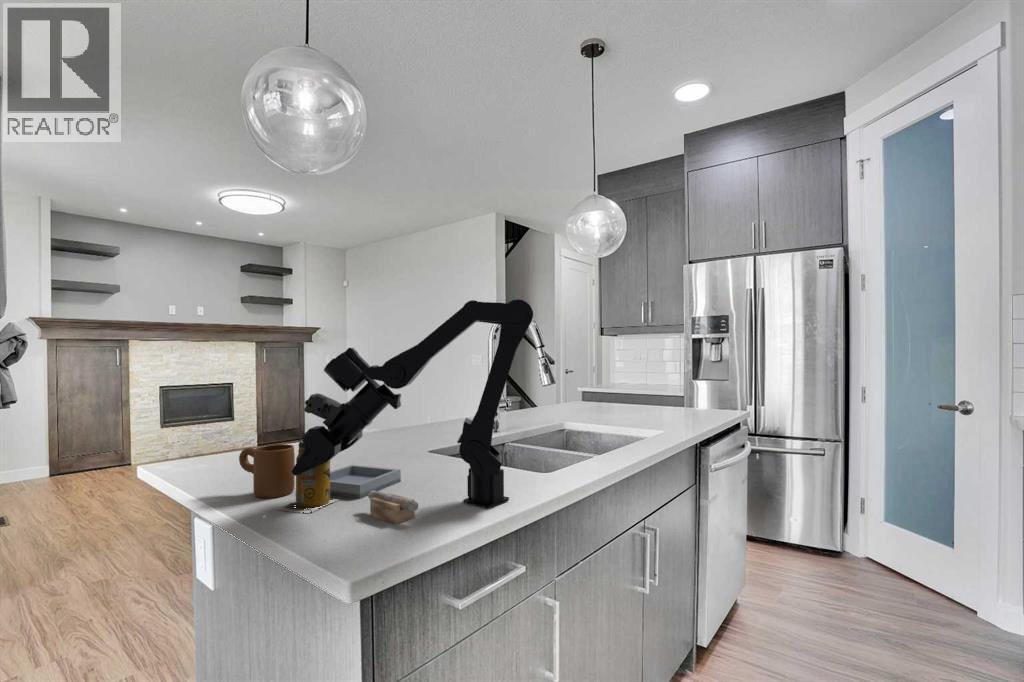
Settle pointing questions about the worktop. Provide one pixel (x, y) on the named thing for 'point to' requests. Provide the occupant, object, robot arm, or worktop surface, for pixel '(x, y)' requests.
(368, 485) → the grey shallow square tray
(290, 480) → the mug
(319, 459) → the robot arm
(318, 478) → the condiment
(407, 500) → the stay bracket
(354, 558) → the worktop surface
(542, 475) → the worktop surface
